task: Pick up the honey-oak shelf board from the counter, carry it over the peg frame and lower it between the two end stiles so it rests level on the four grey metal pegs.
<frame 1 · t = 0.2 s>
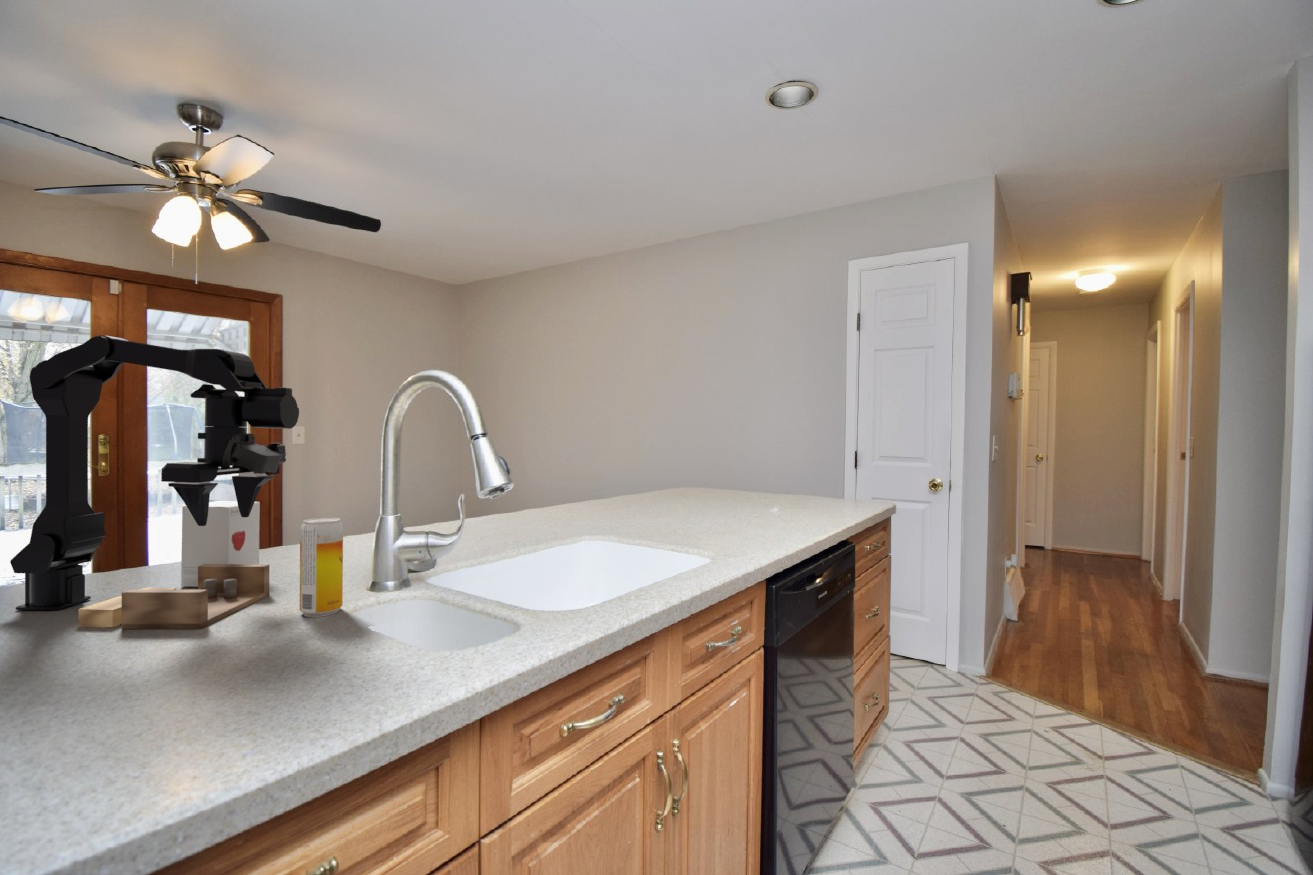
hand: (224, 521, 101), 14 cm above the worktop, tool pointing down, fingers open, 9 cm apart
shelf board: (130, 617, 96), on the worktop
beer can: (321, 613, 99), on the worktop
supplement box: (221, 583, 116), on the worktop
peg frame: (202, 610, 99), on the worktop
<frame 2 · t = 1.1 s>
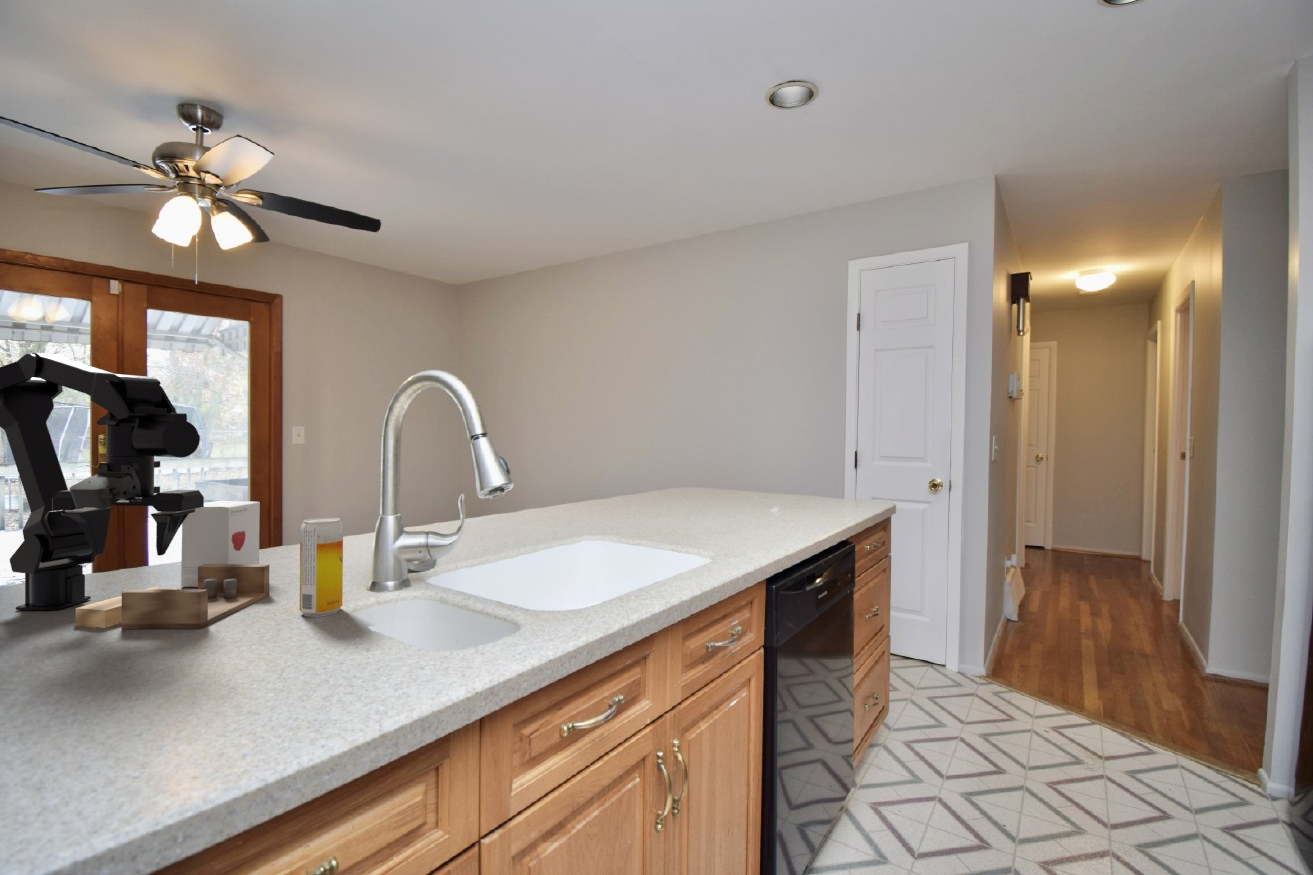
hand: (130, 554, 96), 9 cm above the worktop, tool pointing down, fingers open, 9 cm apart
nothing on the worktop moved.
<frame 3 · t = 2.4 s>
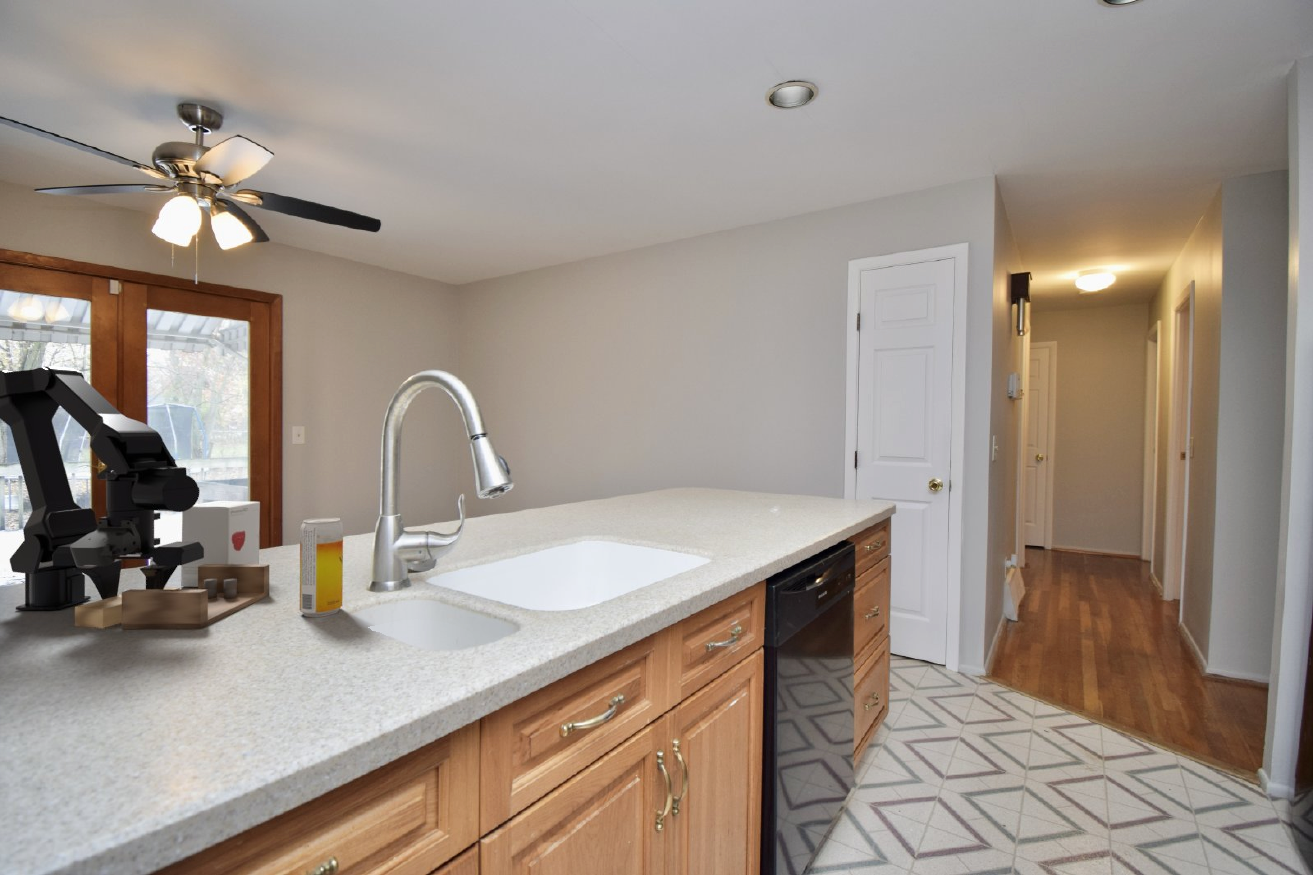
hand: (130, 607, 96), 1 cm above the worktop, tool pointing down, fingers closed on shelf board, 6 cm apart
shelf board: (130, 615, 96), on the worktop, touching gripper
everything else where it was.
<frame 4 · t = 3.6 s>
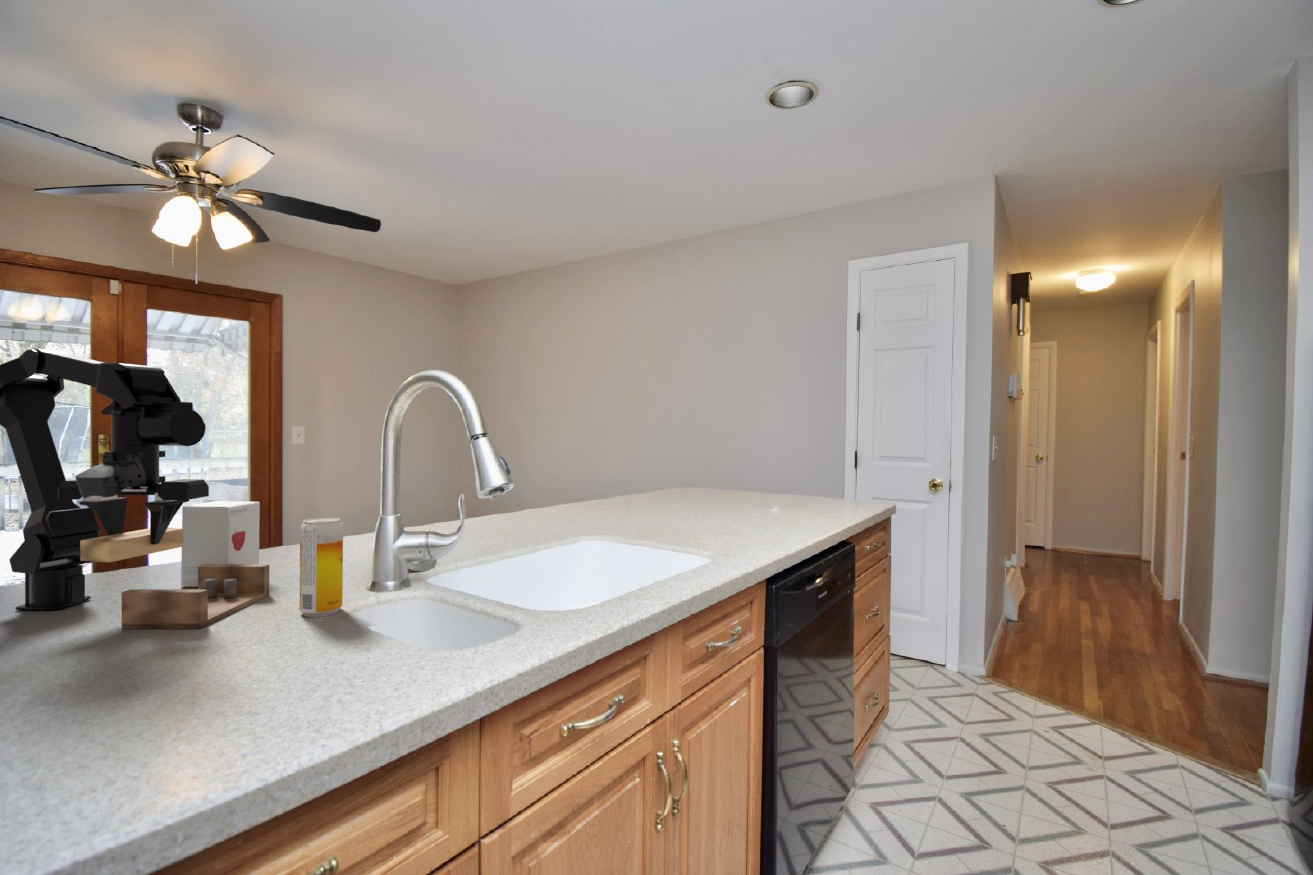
hand: (135, 544, 96), 11 cm above the worktop, tool pointing down, fingers closed on shelf board, 5 cm apart
shelf board: (134, 553, 96), point 10 cm above the worktop, touching gripper
everything else where it was.
when the fingers open (11 cm above the worktop, at t = 4.0 s): shelf board drops 6 cm, resting on peg frame.
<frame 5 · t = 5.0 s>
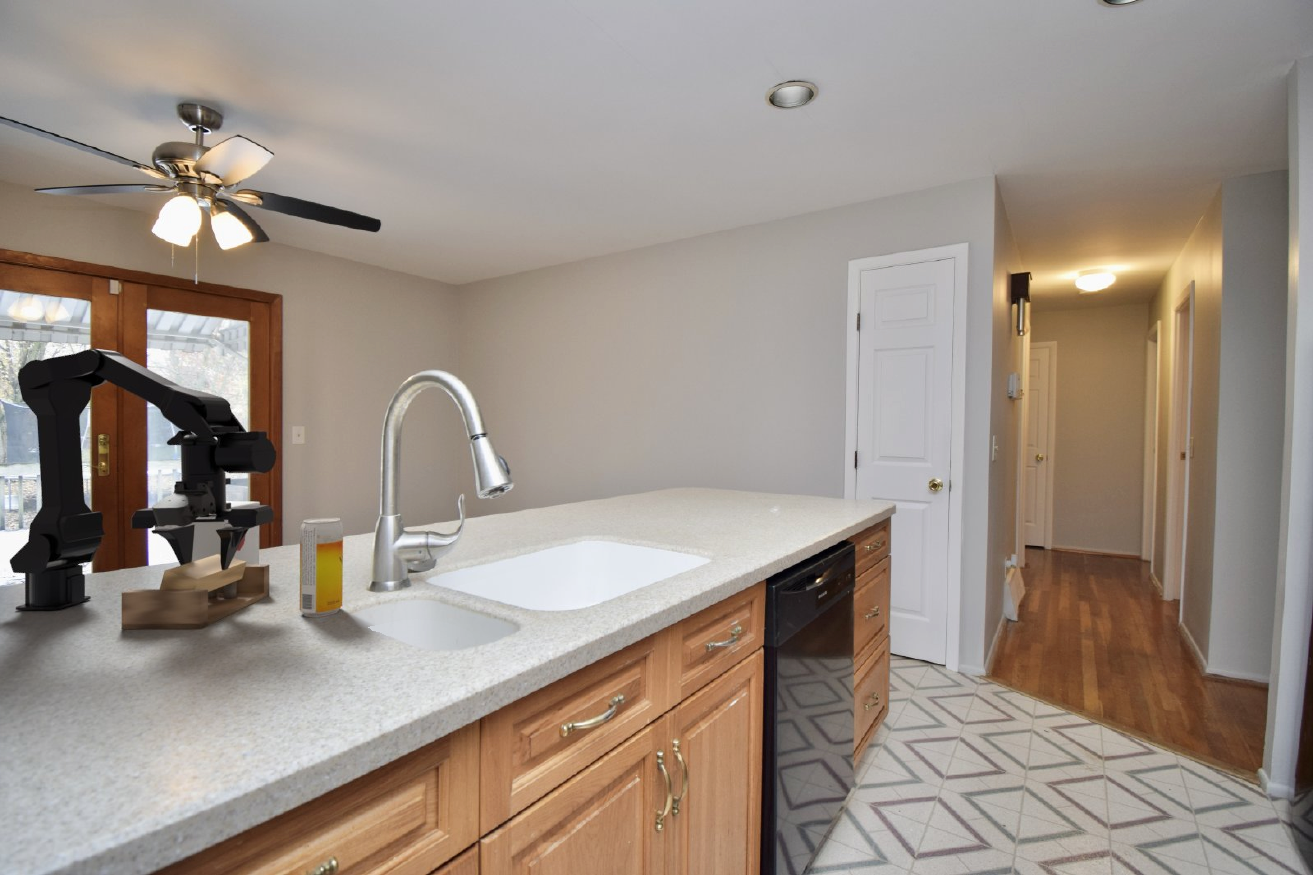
hand: (205, 570, 99), 7 cm above the worktop, tool pointing down, fingers open, 5 cm apart
shelf board: (203, 583, 98), point 4 cm above the worktop, tilted 14°, touching gripper, peg frame
everything else where it was.
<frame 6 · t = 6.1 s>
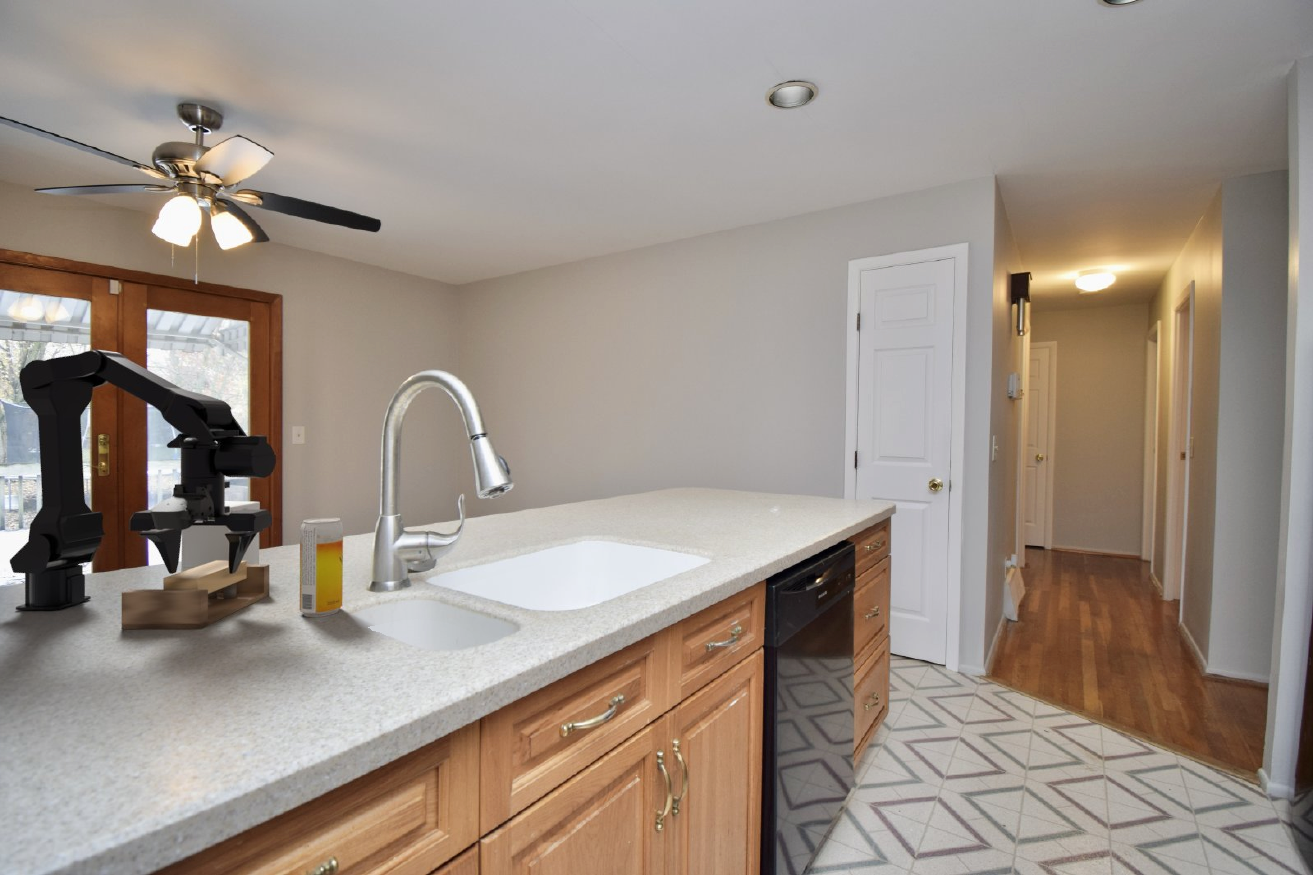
hand: (202, 573, 99), 6 cm above the worktop, tool pointing down, fingers open, 9 cm apart
shelf board: (207, 587, 99), point 4 cm above the worktop, touching peg frame
everything else where it was.
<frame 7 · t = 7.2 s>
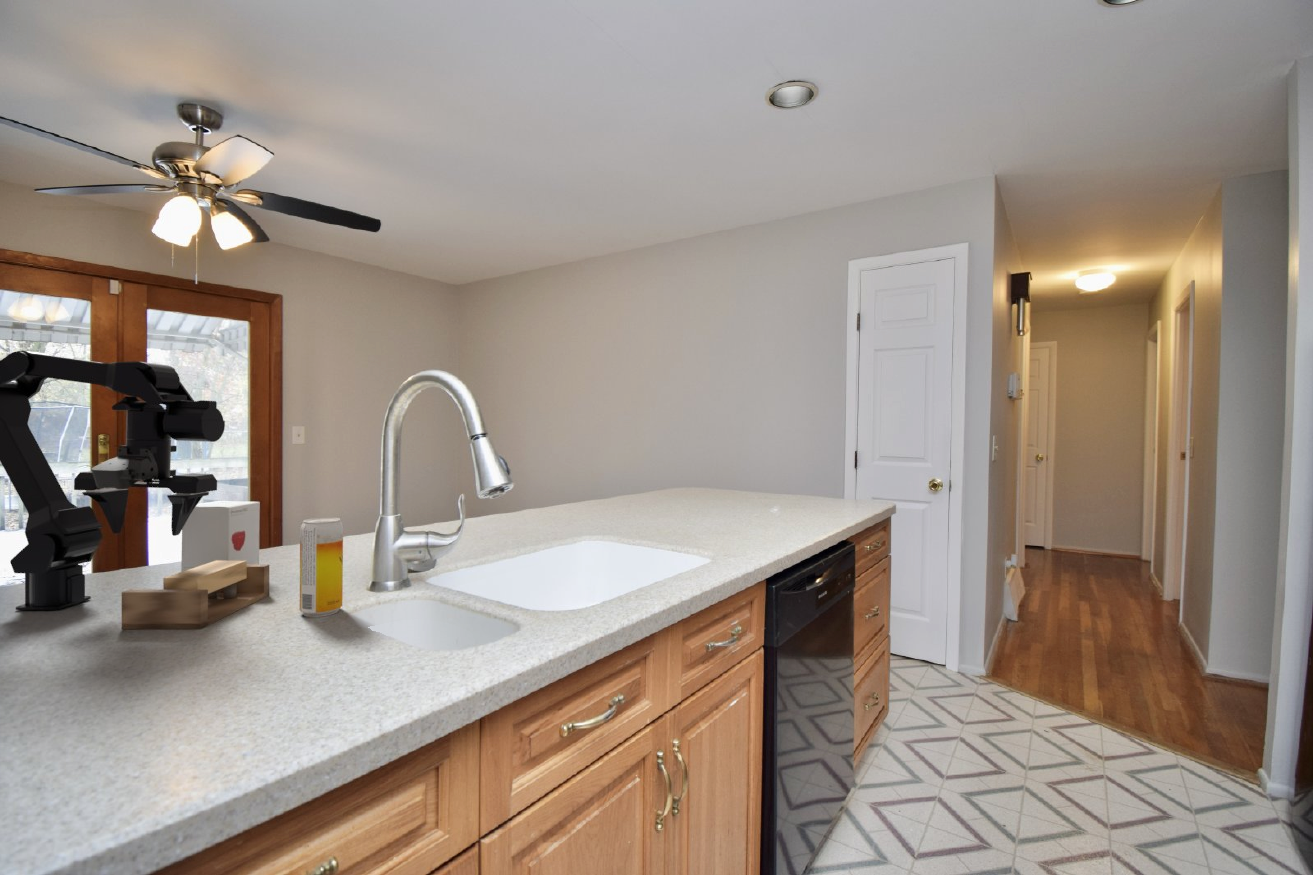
hand: (146, 534, 101), 12 cm above the worktop, tool pointing down, fingers open, 9 cm apart
nothing on the worktop moved.
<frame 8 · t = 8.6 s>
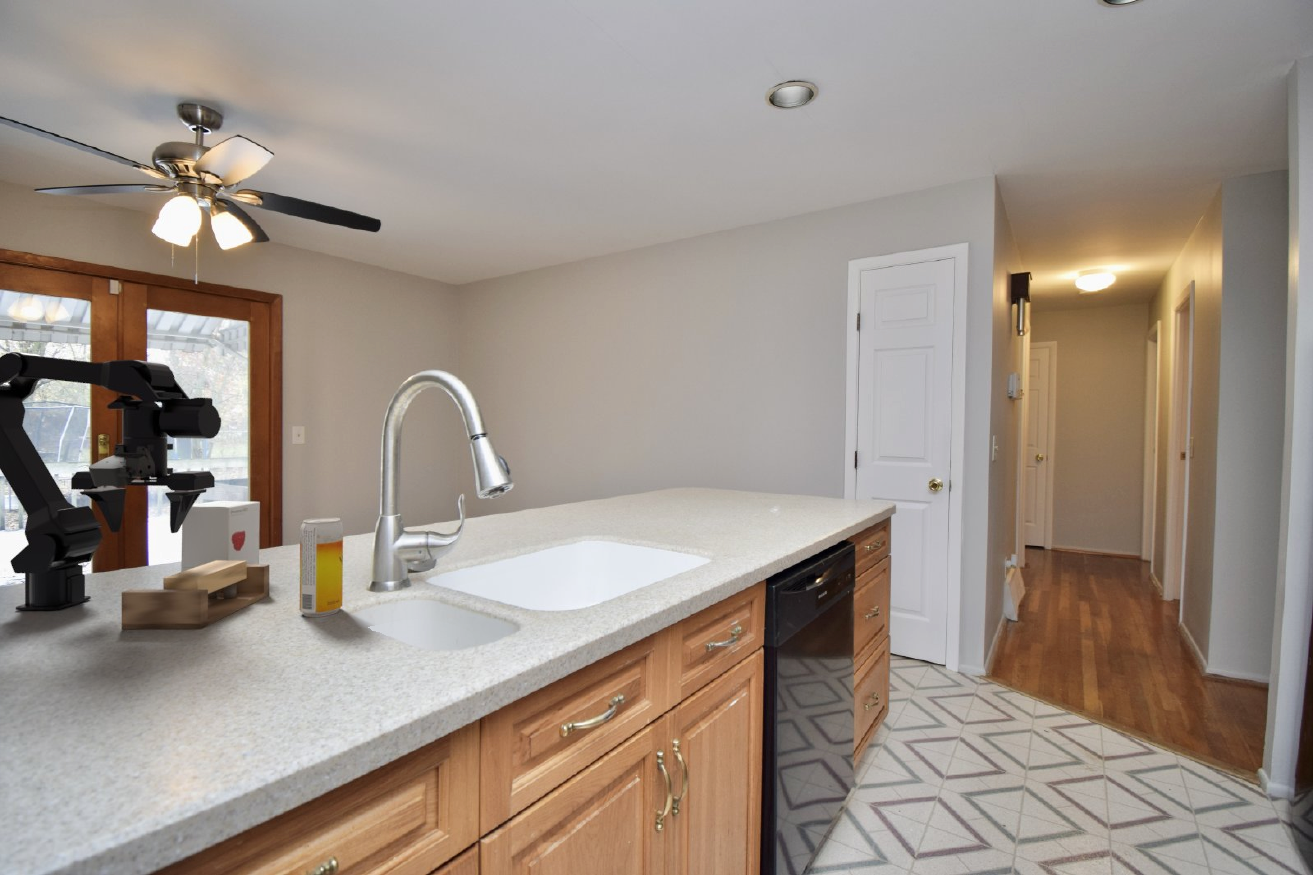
hand: (145, 532, 101), 12 cm above the worktop, tool pointing down, fingers open, 9 cm apart
nothing on the worktop moved.
at the end: shelf board 0.9 cm off-centre on the peg frame, point 3.8 cm above the peg frame's base; shelf board tilted 0°; shelf board touching peg frame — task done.
